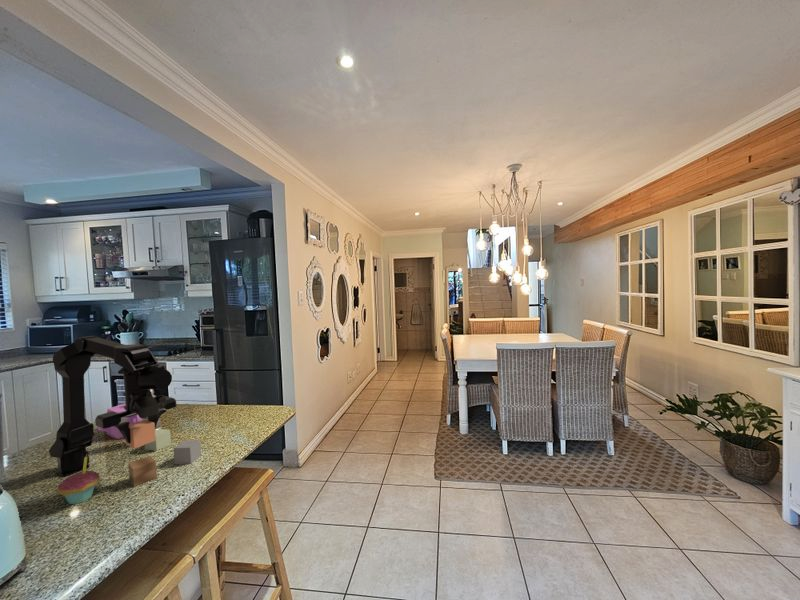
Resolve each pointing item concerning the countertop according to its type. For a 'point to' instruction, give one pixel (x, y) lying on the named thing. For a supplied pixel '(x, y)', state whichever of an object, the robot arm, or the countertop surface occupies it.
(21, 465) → the countertop surface
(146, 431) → the terracotta block
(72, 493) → the cupcake
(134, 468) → the walnut block
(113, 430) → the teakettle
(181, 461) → the slate block
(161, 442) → the sage block
